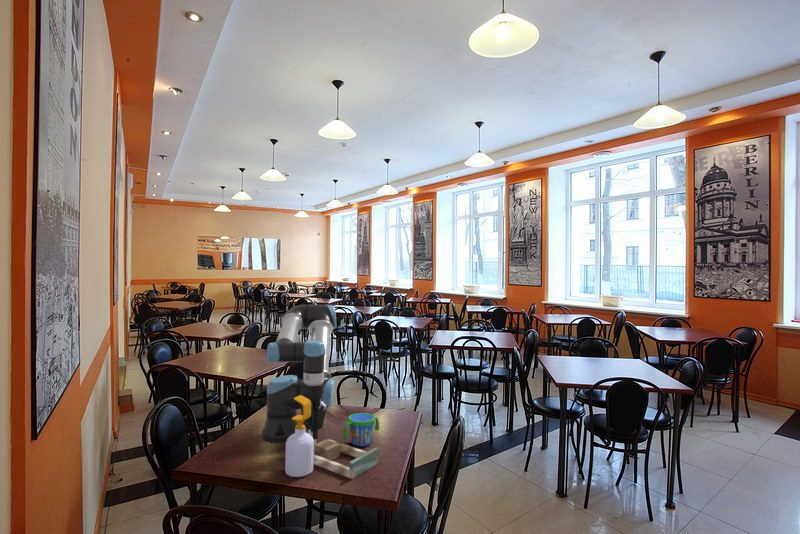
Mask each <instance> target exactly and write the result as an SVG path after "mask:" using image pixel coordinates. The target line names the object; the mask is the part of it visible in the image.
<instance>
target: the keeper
mask: <svg viewBox="0 0 800 534" xmlns="http://www.w3.org/2000/svg"><path fill="white" fill-rule="evenodd" d="M330 440H331V439H330ZM330 440H327V439H324V440H322V441H318V443H317V442H316V444H314V454H315V455H317V456H320V457H323V458H326V459H328V460H331V461H333V460H335V459H337V458H339V457H341V452H340V444H338V443H335V442H333V441H334V440H333V441H330Z"/></svg>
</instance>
